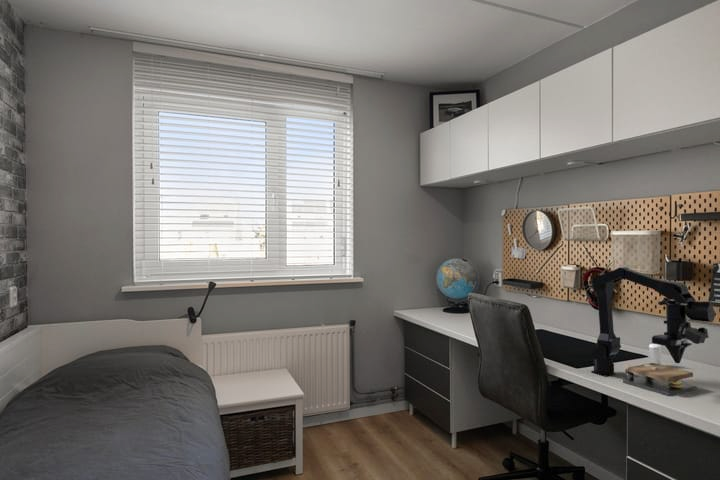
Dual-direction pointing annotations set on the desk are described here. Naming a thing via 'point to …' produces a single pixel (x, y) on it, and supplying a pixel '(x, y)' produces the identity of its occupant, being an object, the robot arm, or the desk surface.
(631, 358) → the desk surface
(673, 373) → the top plate
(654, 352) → the milkshake
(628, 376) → the base
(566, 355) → the desk surface
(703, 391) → the desk surface
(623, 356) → the desk surface
